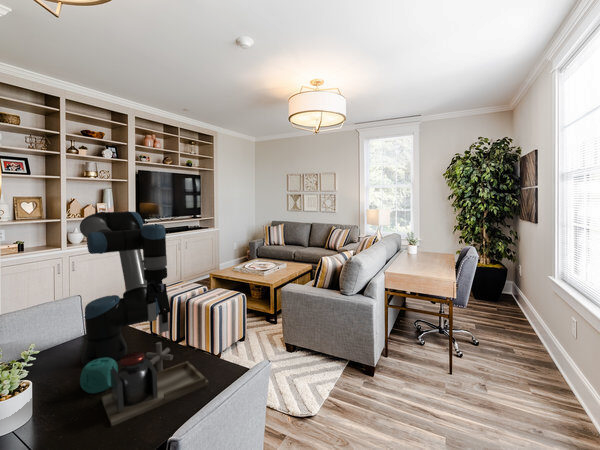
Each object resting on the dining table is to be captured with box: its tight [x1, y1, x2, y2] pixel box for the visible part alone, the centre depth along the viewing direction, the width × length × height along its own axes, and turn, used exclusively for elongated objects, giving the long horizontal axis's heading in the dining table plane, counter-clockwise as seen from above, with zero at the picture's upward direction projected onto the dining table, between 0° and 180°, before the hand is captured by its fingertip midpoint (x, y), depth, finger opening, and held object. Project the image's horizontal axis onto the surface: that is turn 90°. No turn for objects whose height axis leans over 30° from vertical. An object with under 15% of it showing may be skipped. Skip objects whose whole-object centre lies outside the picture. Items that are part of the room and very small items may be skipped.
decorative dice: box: [79, 358, 119, 394], centre depth 101 cm, size 8×8×8 cm
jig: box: [101, 360, 210, 427], centre depth 97 cm, size 15×28×3 cm, turn 132°
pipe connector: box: [145, 341, 174, 372], centre depth 110 cm, size 10×10×10 cm
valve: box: [110, 351, 158, 414], centre depth 93 cm, size 10×10×14 cm
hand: (158, 325), depth 109 cm, fingers open, 13 cm apart
